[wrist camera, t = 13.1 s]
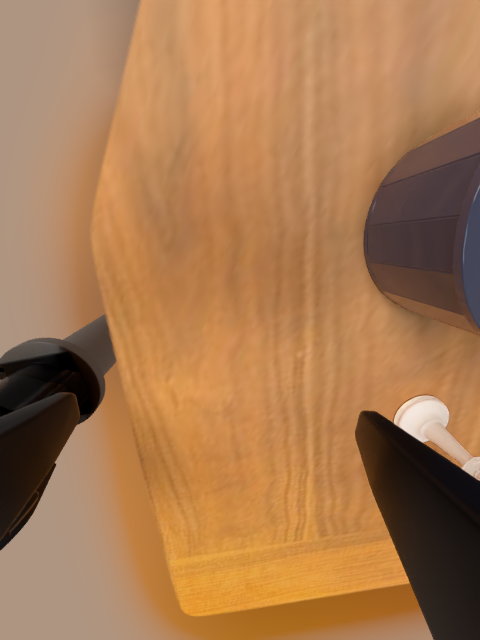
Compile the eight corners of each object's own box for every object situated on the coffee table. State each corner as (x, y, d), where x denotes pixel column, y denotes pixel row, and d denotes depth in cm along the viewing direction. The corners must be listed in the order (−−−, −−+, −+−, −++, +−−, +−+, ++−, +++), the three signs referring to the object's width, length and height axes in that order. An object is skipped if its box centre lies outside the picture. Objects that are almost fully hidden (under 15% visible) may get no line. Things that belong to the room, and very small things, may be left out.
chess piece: (452, 416, 24) (605, 532, 14) (409, 446, 25) (528, 575, 15) (428, 385, 23) (578, 490, 13) (383, 418, 23) (495, 539, 14)
